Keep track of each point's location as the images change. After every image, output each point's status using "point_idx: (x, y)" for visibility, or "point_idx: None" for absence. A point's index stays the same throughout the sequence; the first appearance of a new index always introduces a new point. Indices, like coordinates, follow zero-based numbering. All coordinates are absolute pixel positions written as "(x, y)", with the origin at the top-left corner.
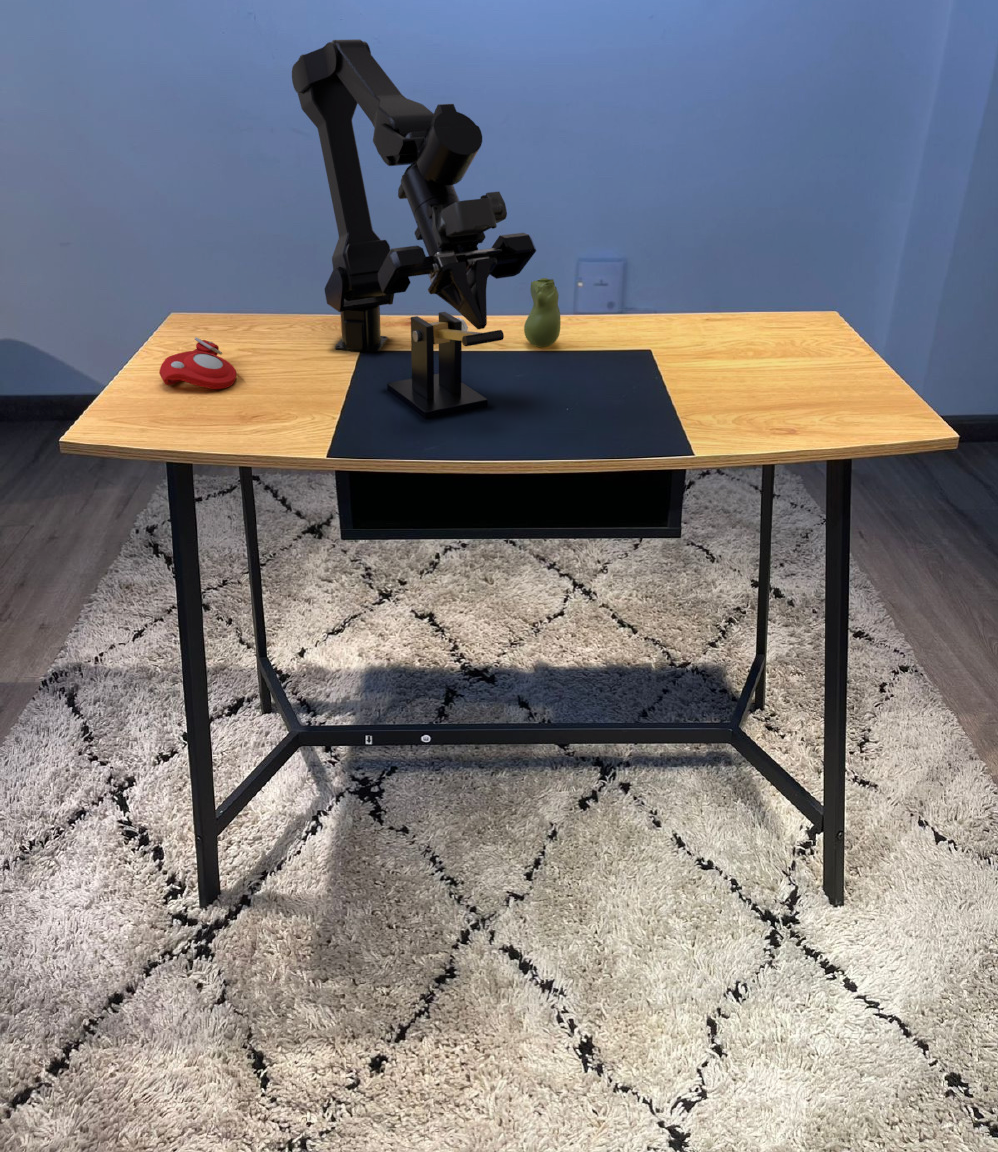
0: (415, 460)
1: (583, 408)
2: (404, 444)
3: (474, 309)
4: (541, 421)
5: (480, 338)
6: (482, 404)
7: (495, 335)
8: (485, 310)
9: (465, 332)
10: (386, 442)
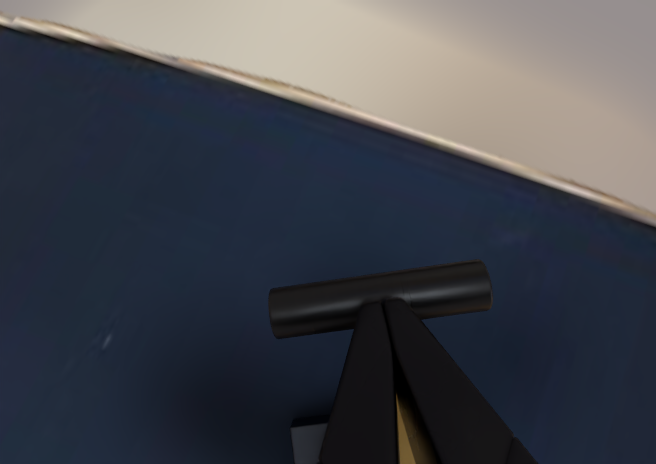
0: (566, 187)
1: (68, 331)
2: (566, 279)
3: (440, 363)
4: (200, 293)
5: (404, 270)
6: (306, 420)
7: (317, 283)
8: (354, 359)
9: (411, 451)
10: (606, 305)
